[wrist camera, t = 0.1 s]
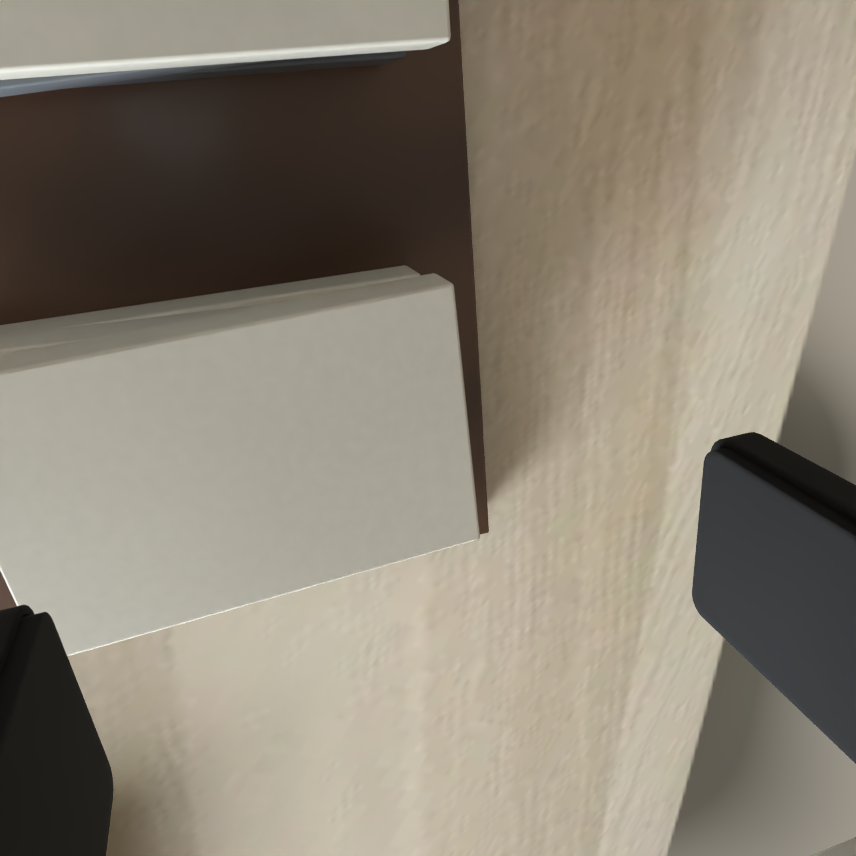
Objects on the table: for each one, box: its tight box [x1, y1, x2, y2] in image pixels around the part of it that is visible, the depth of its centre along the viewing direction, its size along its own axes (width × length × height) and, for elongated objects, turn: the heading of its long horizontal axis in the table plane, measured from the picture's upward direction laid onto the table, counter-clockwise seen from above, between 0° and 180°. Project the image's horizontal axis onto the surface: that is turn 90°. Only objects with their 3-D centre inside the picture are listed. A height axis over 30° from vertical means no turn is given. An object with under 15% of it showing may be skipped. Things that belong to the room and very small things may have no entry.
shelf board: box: [0, 0, 489, 610], centre depth 18 cm, size 24×15×1 cm, turn 4°
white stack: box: [0, 265, 480, 656], centre depth 18 cm, size 8×11×4 cm, turn 94°
